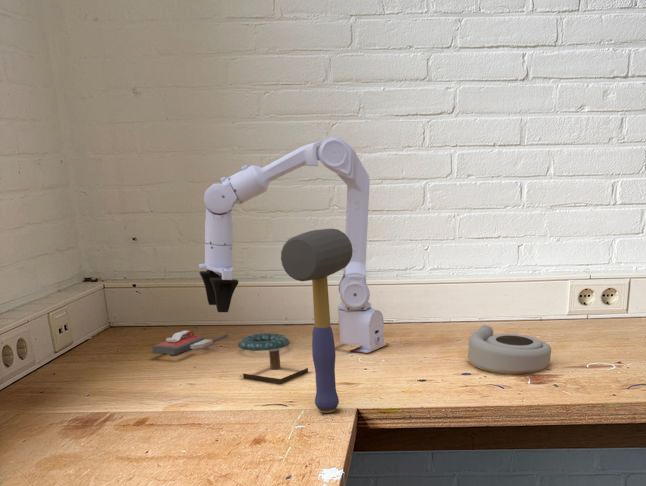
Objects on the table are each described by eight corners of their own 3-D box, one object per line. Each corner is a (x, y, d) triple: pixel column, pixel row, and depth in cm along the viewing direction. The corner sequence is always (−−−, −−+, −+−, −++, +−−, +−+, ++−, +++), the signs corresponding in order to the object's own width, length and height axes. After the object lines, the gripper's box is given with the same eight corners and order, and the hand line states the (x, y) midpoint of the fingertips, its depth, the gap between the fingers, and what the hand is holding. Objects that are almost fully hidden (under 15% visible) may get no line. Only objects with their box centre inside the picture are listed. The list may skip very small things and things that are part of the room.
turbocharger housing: (536, 384, 151) (556, 364, 164) (540, 351, 148) (560, 333, 161) (453, 370, 157) (479, 352, 170) (455, 337, 155) (481, 322, 167)
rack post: (308, 372, 158) (306, 347, 157) (280, 384, 151) (278, 357, 149) (272, 367, 163) (270, 342, 161) (243, 378, 155) (240, 352, 154)
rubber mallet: (329, 425, 128) (318, 234, 118) (289, 420, 131) (274, 233, 121) (363, 402, 139) (355, 226, 129) (325, 398, 142) (314, 225, 132)
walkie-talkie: (182, 363, 167) (232, 341, 185) (180, 343, 166) (230, 323, 183) (147, 361, 170) (199, 339, 188) (144, 340, 169) (197, 321, 186)
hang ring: (299, 347, 178) (298, 334, 177) (268, 359, 169) (267, 345, 168) (261, 342, 183) (260, 330, 182) (228, 353, 174) (227, 340, 173)
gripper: (191, 238, 170) (191, 301, 175) (208, 248, 158) (207, 315, 163) (224, 239, 174) (223, 301, 178) (243, 249, 162) (241, 315, 166)
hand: (218, 308), depth 171 cm, fingers open, 7 cm apart
